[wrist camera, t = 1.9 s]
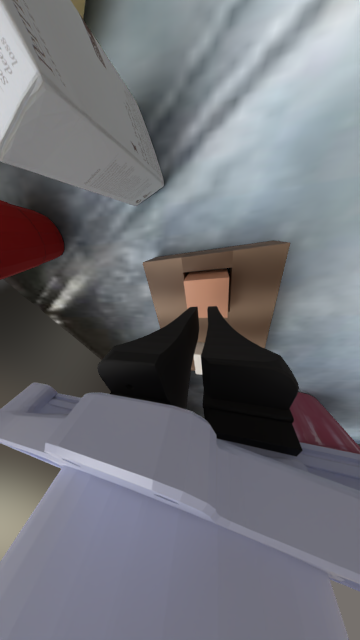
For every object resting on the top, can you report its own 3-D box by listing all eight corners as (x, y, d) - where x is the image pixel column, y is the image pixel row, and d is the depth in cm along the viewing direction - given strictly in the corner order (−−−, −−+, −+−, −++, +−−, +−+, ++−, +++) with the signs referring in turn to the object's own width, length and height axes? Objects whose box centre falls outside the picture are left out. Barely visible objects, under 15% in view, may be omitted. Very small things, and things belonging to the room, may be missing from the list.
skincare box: (167, 185, 14) (49, 72, 4) (135, 208, 16) (-1, 169, 6) (135, 95, 11) (-379, -769, 2) (101, 136, 13) (-241, -148, 3)
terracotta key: (225, 303, 17) (227, 317, 14) (192, 304, 18) (188, 317, 15) (226, 268, 15) (229, 277, 12) (189, 272, 16) (183, 281, 13)
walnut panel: (251, 357, 24) (257, 376, 20) (176, 352, 27) (171, 368, 24) (273, 240, 14) (290, 242, 11) (155, 257, 18) (142, 262, 15)
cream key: (223, 358, 22) (224, 377, 19) (198, 356, 23) (195, 373, 20) (224, 338, 20) (225, 356, 17) (196, 337, 21) (193, 354, 18)
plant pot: (352, 387, 22) (470, 522, 12) (321, 425, 30) (379, 530, 19) (256, 379, 26) (282, 474, 16) (250, 413, 34) (265, 495, 23)
